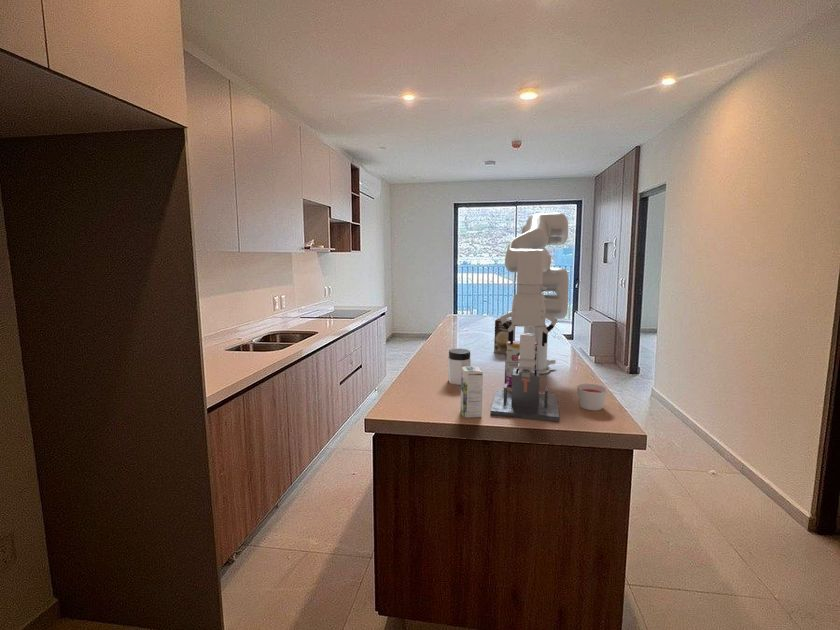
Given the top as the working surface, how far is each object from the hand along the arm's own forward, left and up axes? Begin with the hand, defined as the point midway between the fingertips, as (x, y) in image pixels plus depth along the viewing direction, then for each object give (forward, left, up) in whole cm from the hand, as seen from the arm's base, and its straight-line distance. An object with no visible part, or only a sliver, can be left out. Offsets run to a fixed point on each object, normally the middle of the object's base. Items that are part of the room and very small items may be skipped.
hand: (527, 344), depth 135 cm
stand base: (0, 0, -21) cm, 21 cm away
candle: (-19, +9, -21) cm, 30 cm away
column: (0, 0, -19) cm, 19 cm away
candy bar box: (-12, -18, -21) cm, 30 cm away
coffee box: (-37, -63, -21) cm, 76 cm away
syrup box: (+19, -2, -21) cm, 28 cm away
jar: (+6, -32, -21) cm, 39 cm away
